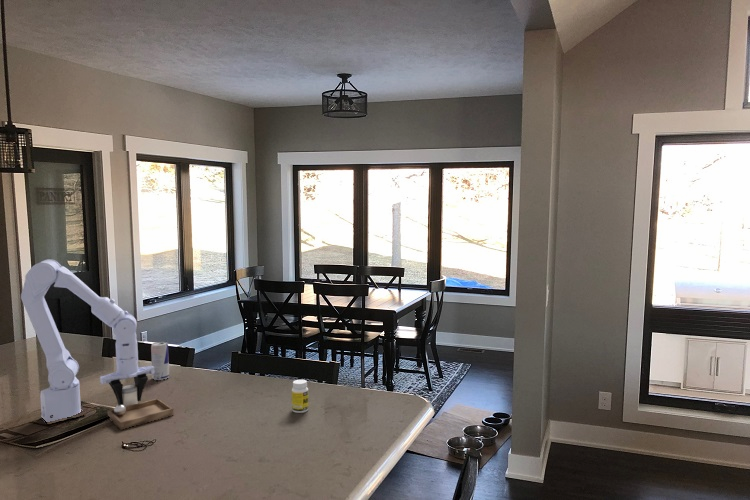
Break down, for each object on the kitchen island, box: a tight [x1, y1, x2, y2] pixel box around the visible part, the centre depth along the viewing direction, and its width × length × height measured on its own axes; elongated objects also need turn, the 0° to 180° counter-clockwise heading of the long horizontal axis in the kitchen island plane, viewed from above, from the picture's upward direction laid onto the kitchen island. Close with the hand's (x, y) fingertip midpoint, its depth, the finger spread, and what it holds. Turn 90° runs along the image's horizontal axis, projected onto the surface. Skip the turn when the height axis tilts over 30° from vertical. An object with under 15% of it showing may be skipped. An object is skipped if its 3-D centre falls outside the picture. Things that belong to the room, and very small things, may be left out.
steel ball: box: [113, 404, 126, 416], centre depth 150 cm, size 3×3×3 cm
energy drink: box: [150, 341, 170, 381], centre depth 183 cm, size 5×5×12 cm
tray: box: [107, 398, 175, 431], centre depth 151 cm, size 14×11×2 cm
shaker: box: [122, 384, 139, 407], centre depth 157 cm, size 5×5×6 cm
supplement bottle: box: [291, 379, 310, 414], centre depth 154 cm, size 5×5×8 cm
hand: (129, 402), depth 157 cm, fingers closed on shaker, 4 cm apart
